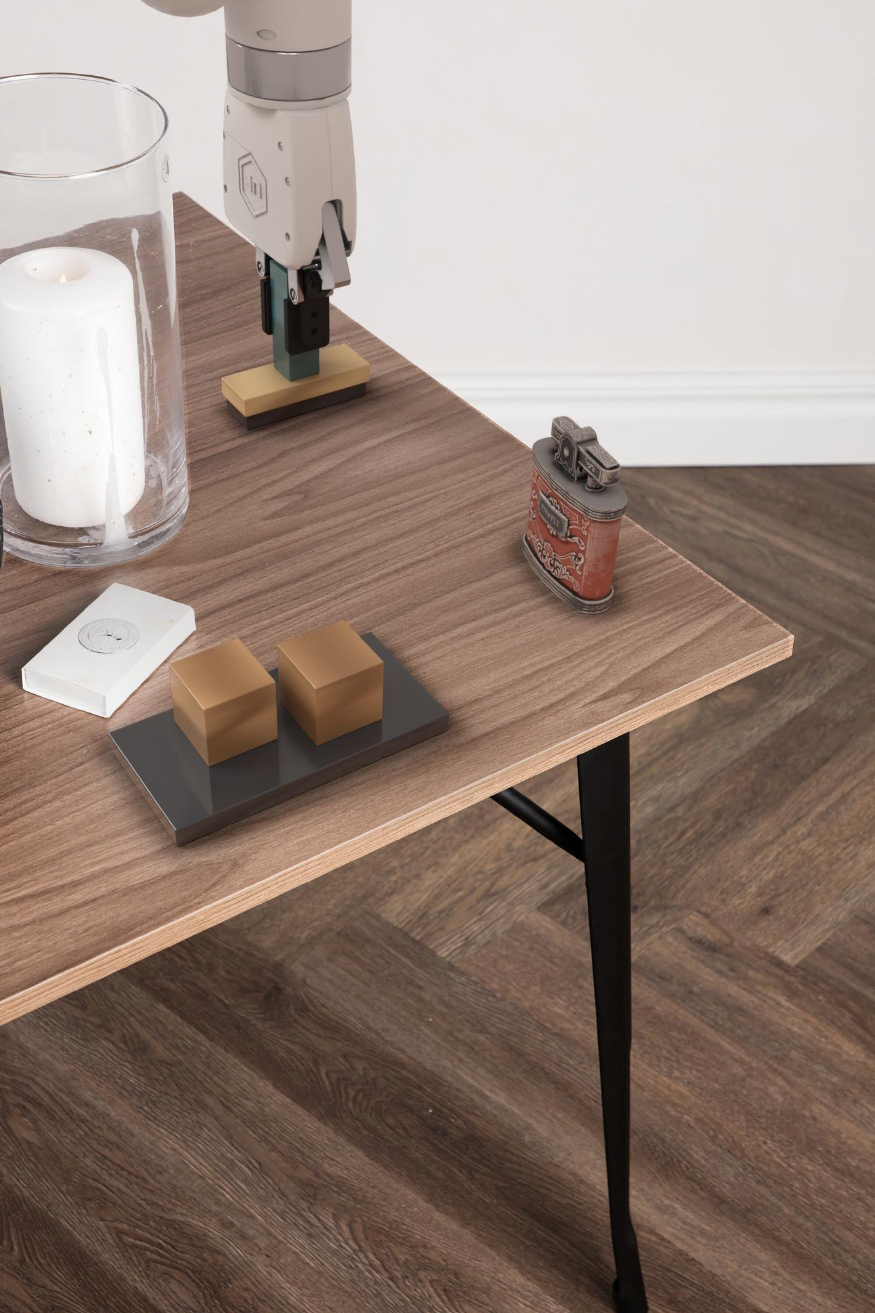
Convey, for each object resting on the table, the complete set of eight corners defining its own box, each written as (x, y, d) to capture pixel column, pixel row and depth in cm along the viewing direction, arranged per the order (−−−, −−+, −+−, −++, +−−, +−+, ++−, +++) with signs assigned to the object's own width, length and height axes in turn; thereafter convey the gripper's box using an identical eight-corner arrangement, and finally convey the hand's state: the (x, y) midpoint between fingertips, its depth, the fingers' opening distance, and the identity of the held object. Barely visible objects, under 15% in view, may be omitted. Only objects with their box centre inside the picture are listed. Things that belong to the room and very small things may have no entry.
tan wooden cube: (208, 767, 71) (203, 709, 69) (173, 721, 74) (167, 663, 71) (278, 739, 73) (276, 681, 71) (242, 694, 76) (238, 637, 73)
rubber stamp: (246, 432, 97) (238, 290, 91) (222, 409, 100) (213, 268, 93) (370, 395, 102) (372, 257, 95) (345, 374, 104) (345, 237, 97)
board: (177, 847, 69) (175, 831, 68) (109, 748, 74) (107, 732, 73) (449, 730, 76) (450, 713, 75) (370, 646, 81) (371, 630, 80)
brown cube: (316, 746, 73) (315, 689, 70) (279, 701, 75) (276, 644, 73) (382, 719, 75) (384, 662, 72) (343, 675, 77) (343, 619, 75)
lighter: (509, 545, 89) (522, 406, 82) (556, 532, 90) (572, 395, 84) (576, 619, 84) (596, 477, 77) (624, 605, 85) (648, 464, 78)
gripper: (173, 33, 89) (193, 303, 101) (301, 118, 79) (306, 406, 91) (279, 17, 92) (286, 280, 104) (414, 97, 82) (404, 377, 94)
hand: (295, 337), depth 97 cm, fingers closed on rubber stamp, 2 cm apart
